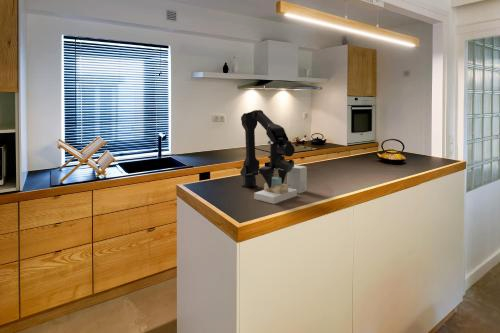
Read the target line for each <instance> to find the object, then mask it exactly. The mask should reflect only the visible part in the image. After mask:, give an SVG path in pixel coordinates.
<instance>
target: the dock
mask: <svg viewBox="0 0 500 333" xmlns="http://www.w3.org/2000/svg"><path fill="white" fill-rule="evenodd" d="M294 197H298V193H297V190H296V189H291V188H288V192H286V193H283V194H276V193H272V192H268V191H264V189H262V190H259V191H256V192H253V199H254V200H256V201H261V202H265V203H268V204H273V205H274V204H278V203H281V202H283V201H286V200H288V199H289V200H290V199H292V198H294Z"/></svg>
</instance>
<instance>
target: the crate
mask: <svg viewBox="0 0 500 333" xmlns="http://www.w3.org/2000/svg"><path fill="white" fill-rule="evenodd" d="M280 184H282V178H279V176H273V177H272V184H271V185H276V186H277V185H280Z"/></svg>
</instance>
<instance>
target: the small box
mask: <svg viewBox="0 0 500 333" xmlns="http://www.w3.org/2000/svg"><path fill="white" fill-rule="evenodd" d="M307 169H308V167H307V166H304V165H303V166H302V165H298V164H294V167H292V169H291V171H289V172H288V173H287V174H286V176H287V177H286V184H287V185H288V188H291V189H296V190H297V194H302V193H305V192H307V184H308V183H307V178H308V174H307V173H308V171H307Z"/></svg>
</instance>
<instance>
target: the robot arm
mask: <svg viewBox="0 0 500 333" xmlns="http://www.w3.org/2000/svg"><path fill="white" fill-rule="evenodd" d="M240 120H241V126H242V128H243V129H244V131H245V132H244V134H245V154H246V155H245V159H244V160H243V166H242V168H241V169H240V176H241V177H243V179H242V180H243V181H242V182H243V184H242V185H241V187H243V188H247V189H252V188H256V187H258V184H257V178H256V176H259V175H261V176H262V177H263V179H264V180H265V181H264V182H265V183H267V185H268V187H269V188H271V184H272V177H275V171H278V177H279V178H282V184H284V181H285V180H286V178H287V177H286V176H287V173H288V172H289V171H291V169H292V167H294V165H295V160H294V159H289V160H287V159H285V157H292V156H294V154H295V149H296V148H295V146H294V145H293V144H292V141H291V140H290V139H289V137H288V135H287V133H286V130H285V128H284V127H282V126H281V125H280V124H277V123H274V122H273V121H272V120H271V119H270V118H269V117H268V116H267V115H266V114H265V113H264V111H263V110H261V109H255V110H252V111H250V112H245V113H243V114H242V115H241V116H240ZM258 123H259V125H261V127H263V129H264V131H266V132H265V134H266V136H267V137H268V139H269V140H268V142H267V144H269V147H270V148H269V155H268V159H269V164H268V165H267V166H262V167H260V160H258V159H257V158H256V140H255V137H256V135H255V132H256V131H255V130H256V128H257V127H258Z"/></svg>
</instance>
